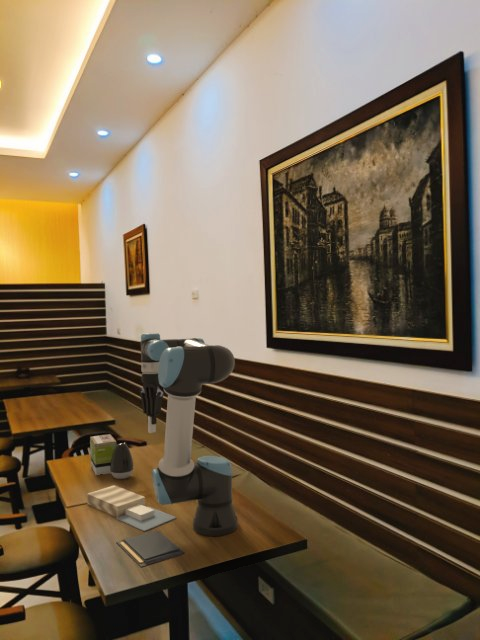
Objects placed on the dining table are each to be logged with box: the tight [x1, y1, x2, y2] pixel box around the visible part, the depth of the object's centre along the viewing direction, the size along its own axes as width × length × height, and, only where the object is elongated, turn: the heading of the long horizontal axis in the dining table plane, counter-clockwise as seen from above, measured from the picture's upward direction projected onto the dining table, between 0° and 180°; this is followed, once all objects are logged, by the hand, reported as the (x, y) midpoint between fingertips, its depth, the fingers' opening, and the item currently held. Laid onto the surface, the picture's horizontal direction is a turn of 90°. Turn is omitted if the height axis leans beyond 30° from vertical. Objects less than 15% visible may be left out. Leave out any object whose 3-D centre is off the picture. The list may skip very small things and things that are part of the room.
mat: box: [115, 506, 177, 533], centre depth 178 cm, size 16×14×1 cm
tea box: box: [89, 433, 118, 476], centre depth 235 cm, size 15×10×15 cm
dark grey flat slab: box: [115, 530, 186, 569], centre depth 156 cm, size 20×2×15 cm
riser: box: [86, 485, 146, 518], centre depth 191 cm, size 20×12×4 cm, turn 48°
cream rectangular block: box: [125, 504, 154, 521], centre depth 181 cm, size 9×6×2 cm, turn 48°
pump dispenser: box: [110, 441, 135, 480], centre depth 223 cm, size 10×10×15 cm
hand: (152, 432), depth 198 cm, fingers closed
